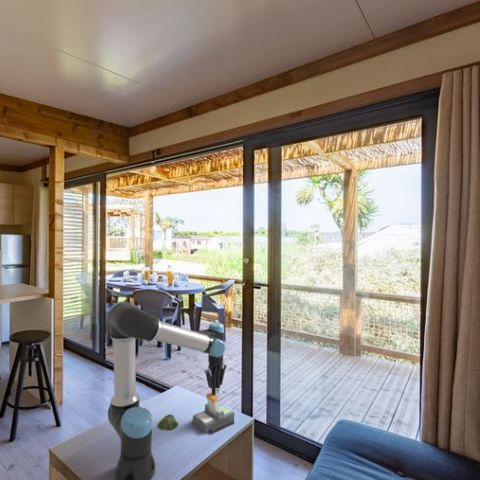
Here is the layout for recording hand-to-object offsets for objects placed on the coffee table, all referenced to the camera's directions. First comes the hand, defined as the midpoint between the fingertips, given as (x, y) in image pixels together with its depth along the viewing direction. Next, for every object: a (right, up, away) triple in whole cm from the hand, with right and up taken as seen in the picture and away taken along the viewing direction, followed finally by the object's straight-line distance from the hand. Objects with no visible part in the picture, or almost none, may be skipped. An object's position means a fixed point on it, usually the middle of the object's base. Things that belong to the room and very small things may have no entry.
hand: (214, 400), depth 169 cm
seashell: (-23, -11, -4) cm, 26 cm away
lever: (0, -6, 0) cm, 6 cm away
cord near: (+4, -11, -5) cm, 13 cm away
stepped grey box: (-1, -11, 0) cm, 11 cm away
